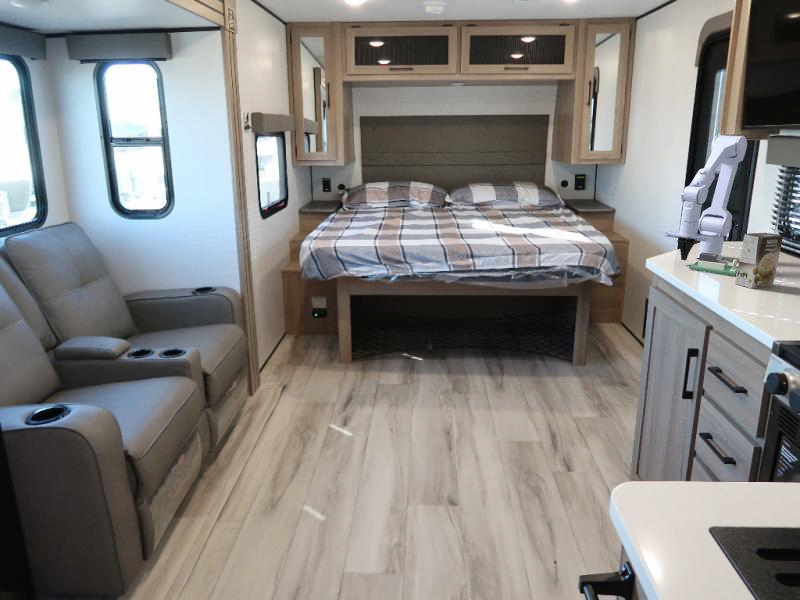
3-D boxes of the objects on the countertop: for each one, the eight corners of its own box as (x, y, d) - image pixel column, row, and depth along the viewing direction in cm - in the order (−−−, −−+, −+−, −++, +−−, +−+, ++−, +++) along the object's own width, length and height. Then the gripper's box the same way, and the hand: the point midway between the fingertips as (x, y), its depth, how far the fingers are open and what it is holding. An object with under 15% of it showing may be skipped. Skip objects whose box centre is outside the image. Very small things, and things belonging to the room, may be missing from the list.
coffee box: (752, 289, 187) (762, 237, 182) (734, 283, 192) (743, 233, 188) (773, 286, 190) (784, 235, 185) (755, 281, 196) (765, 232, 191)
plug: (700, 263, 214) (702, 252, 213) (716, 265, 211) (718, 254, 210) (697, 265, 211) (699, 253, 210) (713, 267, 208) (715, 256, 207)
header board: (697, 263, 218) (699, 251, 217) (741, 270, 210) (743, 257, 209) (689, 269, 209) (691, 256, 208) (734, 276, 201) (736, 263, 200)
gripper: (664, 220, 213) (659, 258, 217) (709, 225, 204) (703, 264, 208) (670, 217, 218) (665, 255, 222) (714, 222, 210) (708, 261, 213)
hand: (683, 259), depth 215 cm, fingers closed
